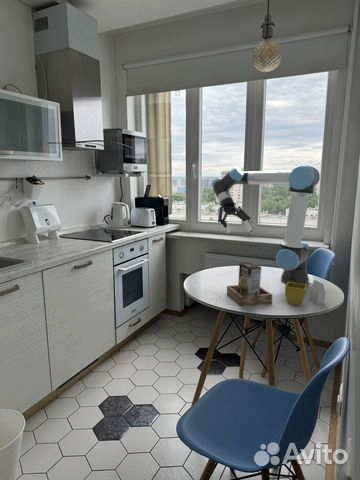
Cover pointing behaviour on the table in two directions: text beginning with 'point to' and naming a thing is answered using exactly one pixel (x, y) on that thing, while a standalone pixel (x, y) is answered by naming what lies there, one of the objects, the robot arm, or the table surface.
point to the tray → (249, 297)
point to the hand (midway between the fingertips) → (239, 231)
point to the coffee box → (249, 279)
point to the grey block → (317, 292)
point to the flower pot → (295, 293)
